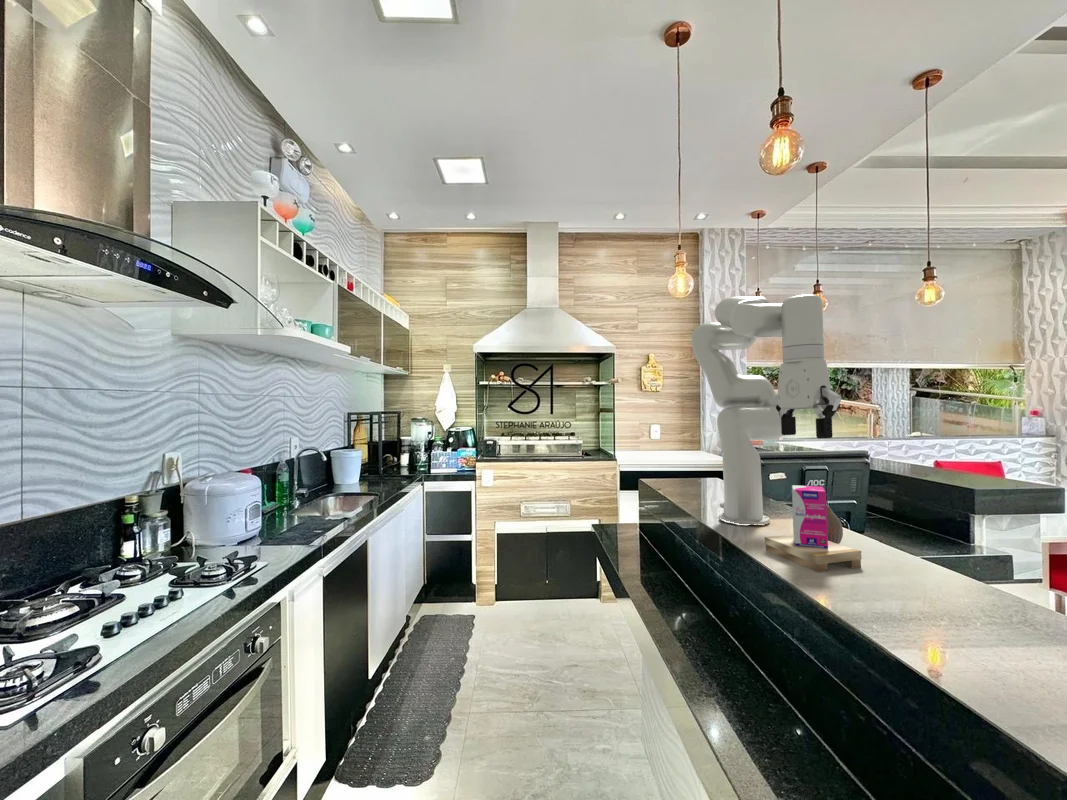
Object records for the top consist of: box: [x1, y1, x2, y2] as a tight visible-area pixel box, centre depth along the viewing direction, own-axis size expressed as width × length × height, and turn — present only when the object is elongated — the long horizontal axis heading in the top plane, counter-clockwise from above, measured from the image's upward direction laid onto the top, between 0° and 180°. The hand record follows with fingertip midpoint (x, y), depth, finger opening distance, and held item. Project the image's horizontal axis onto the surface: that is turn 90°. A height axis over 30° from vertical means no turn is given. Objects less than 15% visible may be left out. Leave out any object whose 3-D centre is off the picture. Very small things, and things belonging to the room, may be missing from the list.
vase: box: [826, 504, 844, 544], centre depth 102 cm, size 7×7×9 cm
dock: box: [764, 533, 862, 573], centre depth 93 cm, size 14×10×3 cm
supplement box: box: [791, 484, 828, 549], centre depth 93 cm, size 6×6×12 cm
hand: (805, 436), depth 96 cm, fingers open, 9 cm apart
